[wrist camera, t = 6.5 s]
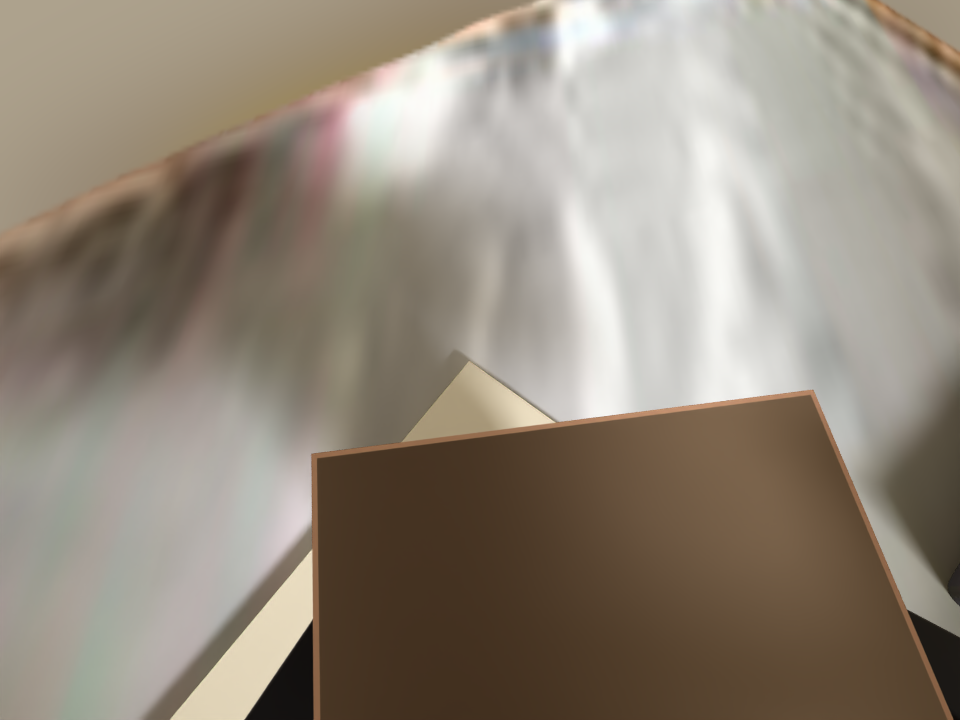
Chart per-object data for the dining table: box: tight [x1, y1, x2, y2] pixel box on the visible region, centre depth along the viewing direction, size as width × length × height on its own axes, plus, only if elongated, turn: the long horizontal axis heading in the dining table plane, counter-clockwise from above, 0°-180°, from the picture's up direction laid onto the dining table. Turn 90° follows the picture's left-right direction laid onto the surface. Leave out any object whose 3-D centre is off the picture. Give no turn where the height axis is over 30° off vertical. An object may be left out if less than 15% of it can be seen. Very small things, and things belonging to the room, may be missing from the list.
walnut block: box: [311, 390, 953, 720], centre depth 8 cm, size 5×5×10 cm
